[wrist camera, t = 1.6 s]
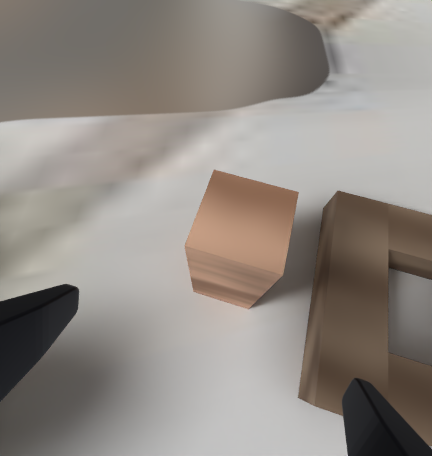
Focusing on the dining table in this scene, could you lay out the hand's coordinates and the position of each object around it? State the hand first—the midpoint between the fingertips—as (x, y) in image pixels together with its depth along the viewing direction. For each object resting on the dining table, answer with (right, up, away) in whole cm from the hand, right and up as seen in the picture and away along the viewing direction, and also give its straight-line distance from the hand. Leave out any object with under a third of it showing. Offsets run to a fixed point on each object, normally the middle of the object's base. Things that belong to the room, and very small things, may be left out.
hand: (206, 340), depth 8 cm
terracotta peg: (+1, 0, +13) cm, 13 cm away
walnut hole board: (+16, -4, +12) cm, 21 cm away
